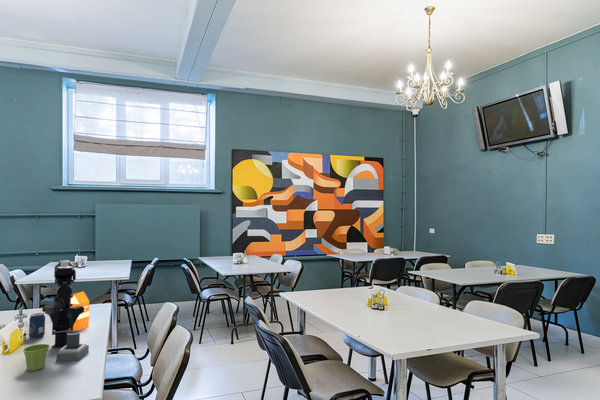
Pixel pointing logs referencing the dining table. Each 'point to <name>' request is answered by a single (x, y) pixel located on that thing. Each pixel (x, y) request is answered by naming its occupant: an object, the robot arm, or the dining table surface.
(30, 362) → the plant pot
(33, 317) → the soda can
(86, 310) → the orange juice
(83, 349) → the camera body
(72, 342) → the lens
